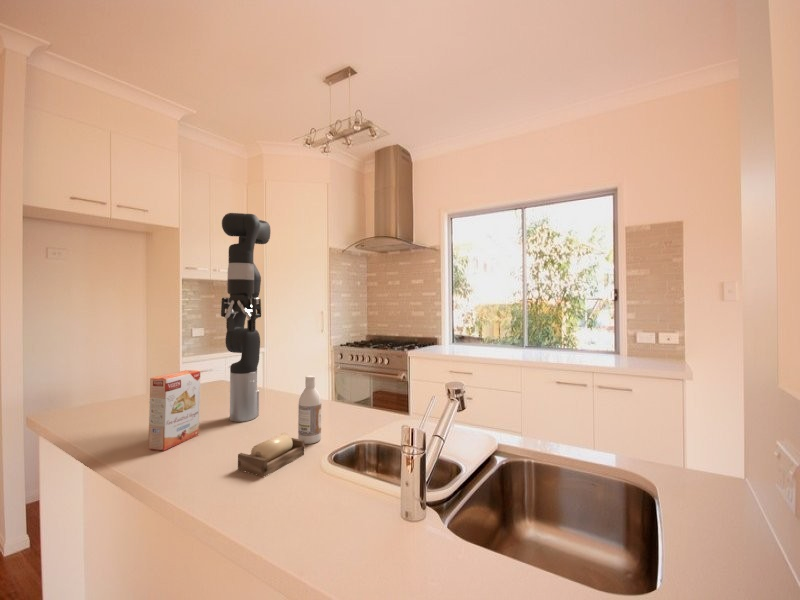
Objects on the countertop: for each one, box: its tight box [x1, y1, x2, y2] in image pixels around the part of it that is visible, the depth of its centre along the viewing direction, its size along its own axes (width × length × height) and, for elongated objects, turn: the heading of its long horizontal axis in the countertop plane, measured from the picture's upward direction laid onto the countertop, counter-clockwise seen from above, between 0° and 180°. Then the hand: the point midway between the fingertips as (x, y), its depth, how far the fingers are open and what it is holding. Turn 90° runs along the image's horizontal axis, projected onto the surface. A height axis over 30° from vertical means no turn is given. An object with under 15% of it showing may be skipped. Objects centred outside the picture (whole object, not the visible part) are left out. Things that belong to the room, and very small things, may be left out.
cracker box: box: [148, 369, 201, 452], centre depth 114 cm, size 14×6×21 cm, turn 168°
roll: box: [250, 432, 293, 463], centre depth 101 cm, size 10×5×5 cm, turn 156°
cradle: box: [237, 437, 305, 477], centre depth 101 cm, size 15×9×4 cm, turn 155°
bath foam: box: [297, 375, 322, 445], centre depth 116 cm, size 7×7×20 cm
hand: (240, 331), depth 114 cm, fingers open, 8 cm apart
